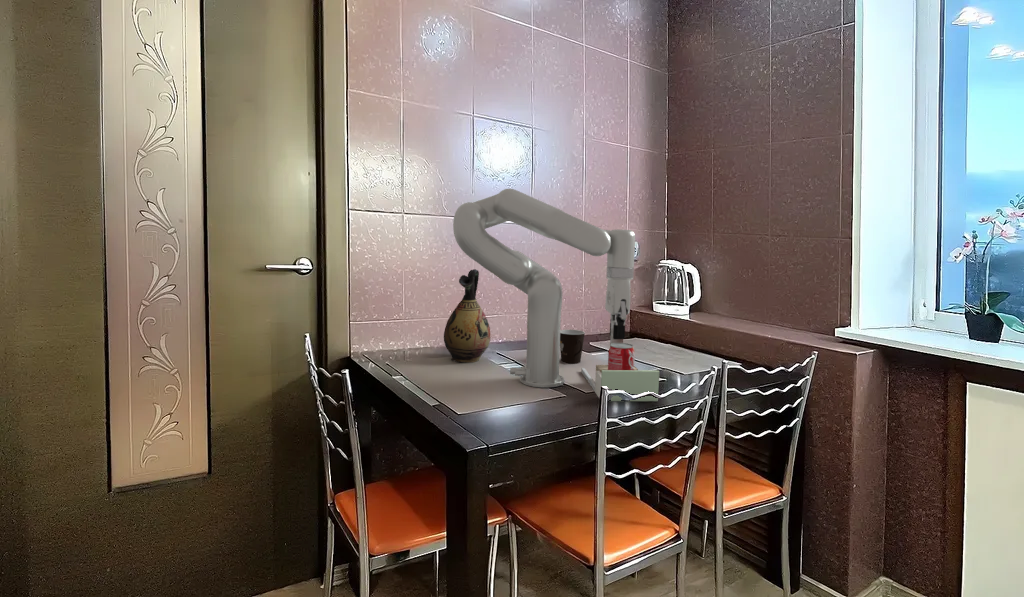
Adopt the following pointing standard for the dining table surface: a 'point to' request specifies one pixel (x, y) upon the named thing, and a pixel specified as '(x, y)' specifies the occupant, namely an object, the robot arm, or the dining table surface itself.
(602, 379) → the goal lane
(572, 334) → the coffee mug
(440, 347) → the dining table surface
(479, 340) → the ceramic jug
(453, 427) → the dining table surface
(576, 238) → the robot arm
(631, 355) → the soda can
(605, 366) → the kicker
